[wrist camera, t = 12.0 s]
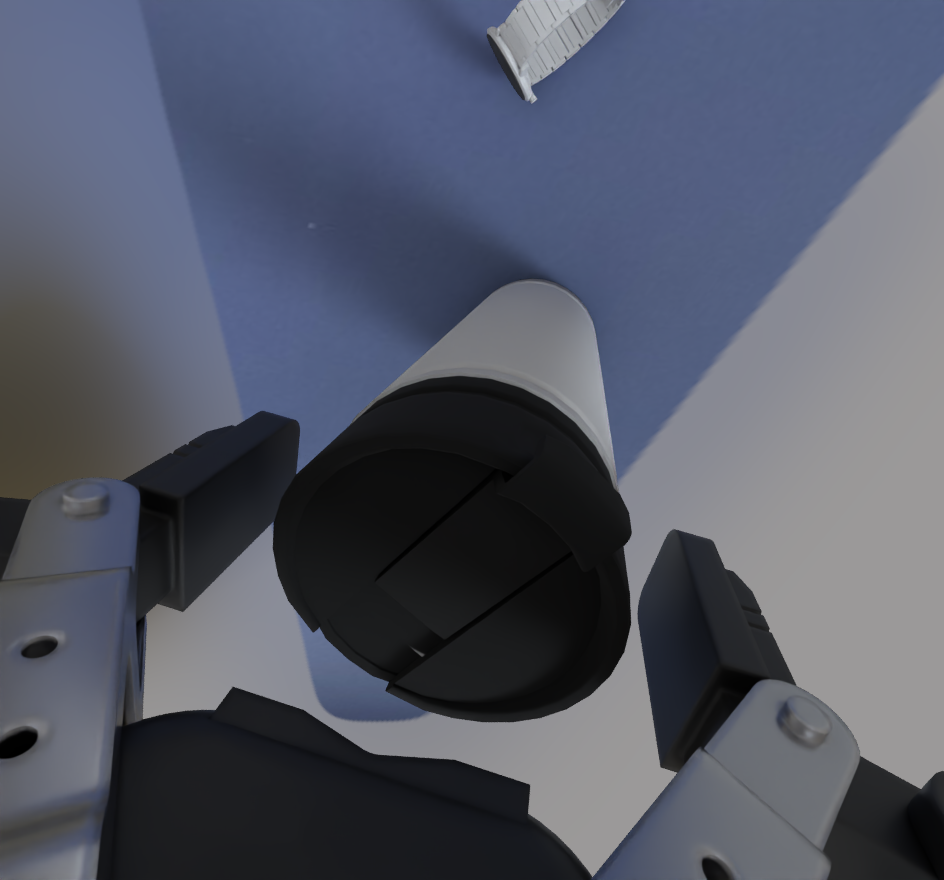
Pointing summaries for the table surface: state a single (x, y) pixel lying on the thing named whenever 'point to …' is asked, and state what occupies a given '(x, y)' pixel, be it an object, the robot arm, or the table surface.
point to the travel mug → (473, 520)
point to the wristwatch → (545, 37)
